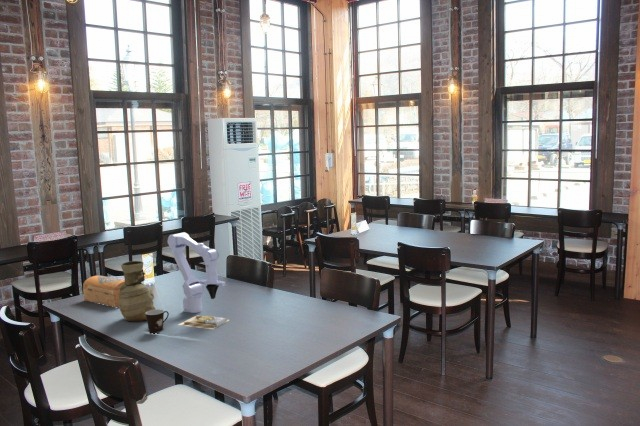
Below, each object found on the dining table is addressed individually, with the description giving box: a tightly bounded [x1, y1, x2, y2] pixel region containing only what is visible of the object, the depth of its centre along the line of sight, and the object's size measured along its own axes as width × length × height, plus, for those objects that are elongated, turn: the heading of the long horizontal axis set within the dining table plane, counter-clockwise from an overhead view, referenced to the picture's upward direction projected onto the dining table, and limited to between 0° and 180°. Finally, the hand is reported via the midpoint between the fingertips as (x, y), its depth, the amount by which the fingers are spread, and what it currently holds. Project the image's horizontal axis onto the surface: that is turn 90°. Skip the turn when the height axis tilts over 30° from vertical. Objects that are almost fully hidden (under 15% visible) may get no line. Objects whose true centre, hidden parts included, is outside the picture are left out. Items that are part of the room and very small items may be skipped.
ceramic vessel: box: [118, 260, 156, 323], centre depth 303 cm, size 19×21×30 cm
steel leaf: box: [204, 316, 226, 328], centre depth 288 cm, size 7×8×2 cm
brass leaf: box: [195, 315, 213, 323], centre depth 290 cm, size 7×8×2 cm
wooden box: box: [82, 274, 125, 308], centre depth 337 cm, size 30×16×14 cm, turn 54°
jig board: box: [177, 314, 230, 330], centre depth 291 cm, size 21×15×2 cm
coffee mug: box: [145, 308, 170, 335], centre depth 282 cm, size 12×9×10 cm
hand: (213, 298), depth 301 cm, fingers closed
